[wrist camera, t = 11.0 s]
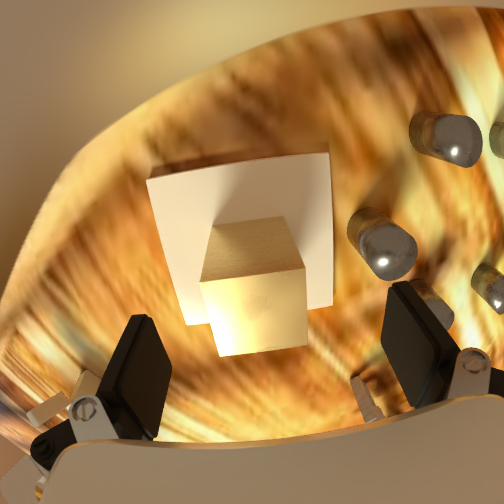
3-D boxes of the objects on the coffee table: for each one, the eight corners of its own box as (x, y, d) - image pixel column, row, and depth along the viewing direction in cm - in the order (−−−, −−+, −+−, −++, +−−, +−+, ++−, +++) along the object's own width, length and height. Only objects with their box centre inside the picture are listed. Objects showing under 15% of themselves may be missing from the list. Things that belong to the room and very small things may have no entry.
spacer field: (533, 130, 14) (565, 139, 10) (512, 277, 20) (535, 297, 17) (340, 109, 14) (370, 108, 11) (343, 323, 21) (360, 361, 17)
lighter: (121, 392, 24) (101, 461, 17) (113, 397, 24) (93, 463, 17) (61, 349, 21) (27, 415, 14) (55, 356, 22) (23, 419, 14)
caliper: (346, 375, 24) (365, 431, 18) (357, 370, 24) (378, 425, 18) (393, 435, 32) (405, 469, 26) (400, 431, 32) (413, 465, 26)
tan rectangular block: (283, 215, 16) (305, 267, 11) (288, 277, 18) (308, 344, 13) (211, 225, 16) (199, 282, 11) (224, 285, 18) (220, 356, 13)
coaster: (325, 151, 15) (328, 153, 15) (330, 300, 20) (332, 305, 19) (149, 178, 15) (146, 180, 15) (187, 319, 20) (186, 325, 19)
